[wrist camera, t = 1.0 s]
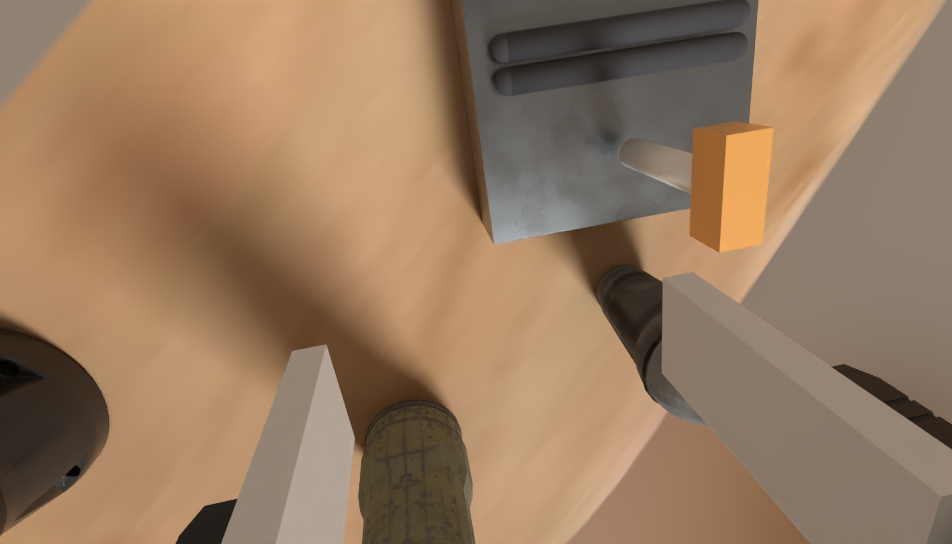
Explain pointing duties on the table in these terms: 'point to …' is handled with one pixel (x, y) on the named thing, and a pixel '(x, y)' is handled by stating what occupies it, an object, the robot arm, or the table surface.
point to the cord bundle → (619, 33)
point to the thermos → (415, 478)
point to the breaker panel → (583, 121)
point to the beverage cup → (642, 331)
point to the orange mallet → (714, 179)
